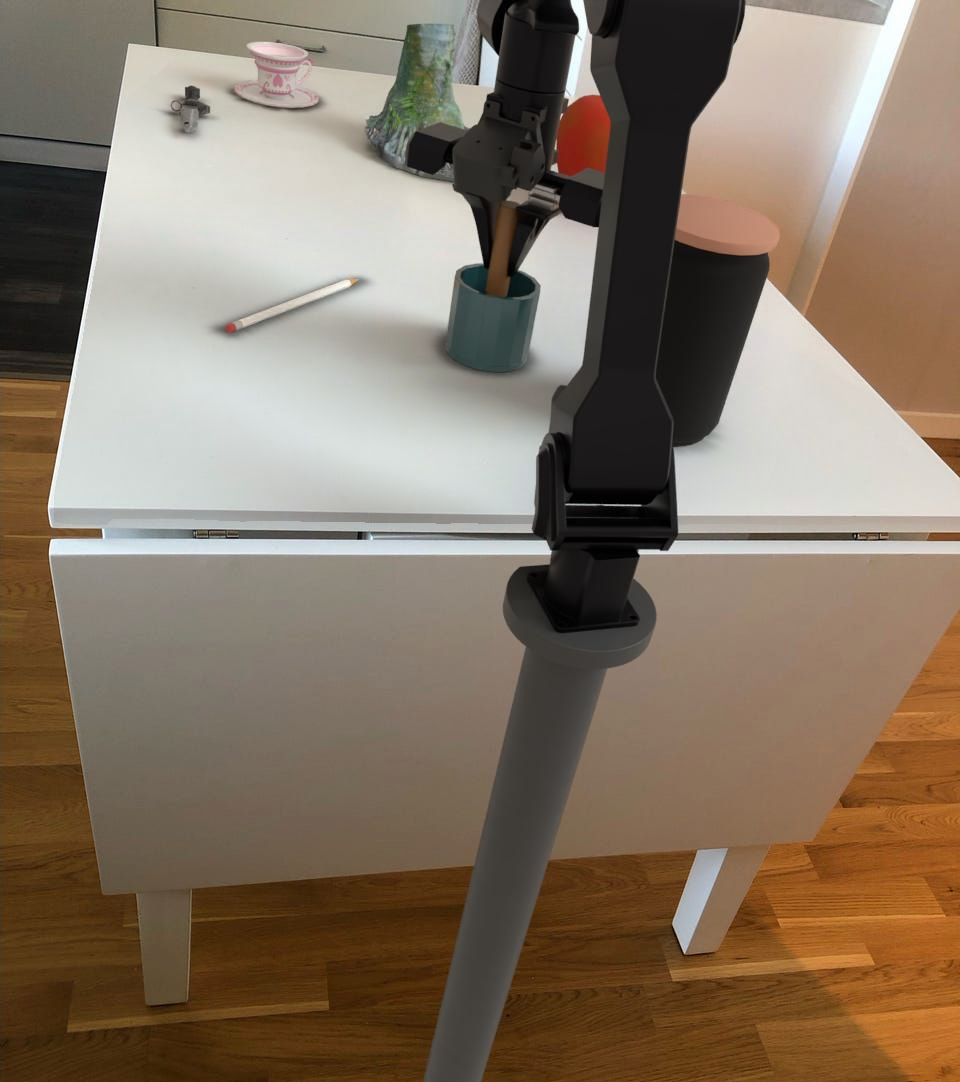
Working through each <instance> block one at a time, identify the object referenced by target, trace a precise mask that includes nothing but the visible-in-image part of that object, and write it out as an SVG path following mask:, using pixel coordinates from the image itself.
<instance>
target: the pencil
mask: <svg viewBox="0 0 960 1082" xmlns="http://www.w3.org/2000/svg"><path fill="white" fill-rule="evenodd" d="M358 281H360V278H347V279H344V280H341V281H338V282H336V283H334V284H331V285H328V286H325V287H323V288H320V289H318V290H315V291H312V292H310V293H307V294H304V295H302V296H299V297H296V298H293V299H291V300H288V301H286V302H283V303H280V304H277V305H275V306H273V307H269V308H267V309H264V310H262V311H259V312H256V313H254V314H250V315H248V316H246V317H243V318H241V319H238V320H236V321H232V322H230V323H228V324H226V325H225V326H224V328H225V331H226V332H227V333H229V334H231V333H233V332H237V331H239V330H242V329H244V328H247V327H249V326H252V325H255V324H257V323H259V322H263V321H265V320H268V319H271V318H273V317H275V316H278V315H280V314H283V313H285V312H289V311H291V310H294V309H296V308H298V307H301V306H304V305H306V304H309V303H311V302H314V301H317V300H319V299H322V298H325V297H327V296H330V295H332V294H334V293H338V292H339V291H342V290H345V289H348V288H351V287H352V286H354V285H355V284H356V283H358Z"/></svg>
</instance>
